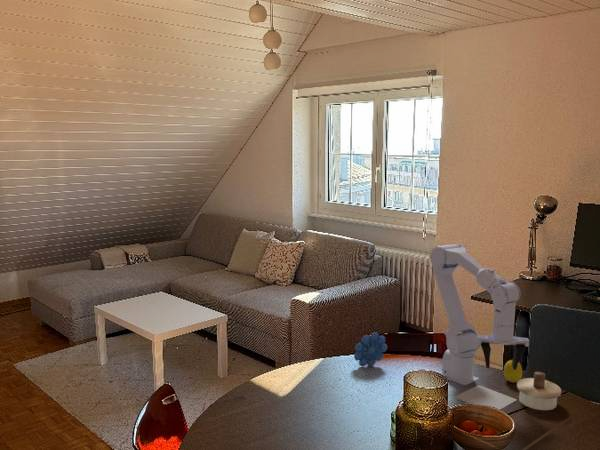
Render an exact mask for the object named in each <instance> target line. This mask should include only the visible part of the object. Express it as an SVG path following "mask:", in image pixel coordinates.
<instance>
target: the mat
mask: <svg viewBox="0 0 600 450" xmlns="http://www.w3.org/2000/svg"><path fill="white" fill-rule="evenodd" d="M454 398H455V399H457V400H460V401H462V402H464V403H466V404H469V405H471V404H482V405H487V406H491V407H495V408H497V409H499V411H501V410H502V409H505V408H506V407H507V406H509V405H510V404H512V403H514V402H516V401H518V399H516V398H514V397H512V396H508V395H507V394H505V393H500V392H498V391H496V390H493V389H490V388H488V387H485V386H483V385H479V384H478V385H476V386H474V387H471V388H469V389H467V390H465V391H463V392H461V393H459V394H457V395H456V396H454Z"/></svg>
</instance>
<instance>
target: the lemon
mask: <svg viewBox="0 0 600 450" xmlns="http://www.w3.org/2000/svg"><path fill="white" fill-rule="evenodd" d="M512 361H513V359H510V360H507V362H505V364H504V367H503V376H504V378H505V380H507V381H508V382H509V383H513V384H514V383H517V382H518V381H519V380H521V379H522V376H523V367H522V364H521V363H520V361H519V362H518V365H517V368H516V370H514V369H513V367H512Z"/></svg>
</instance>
